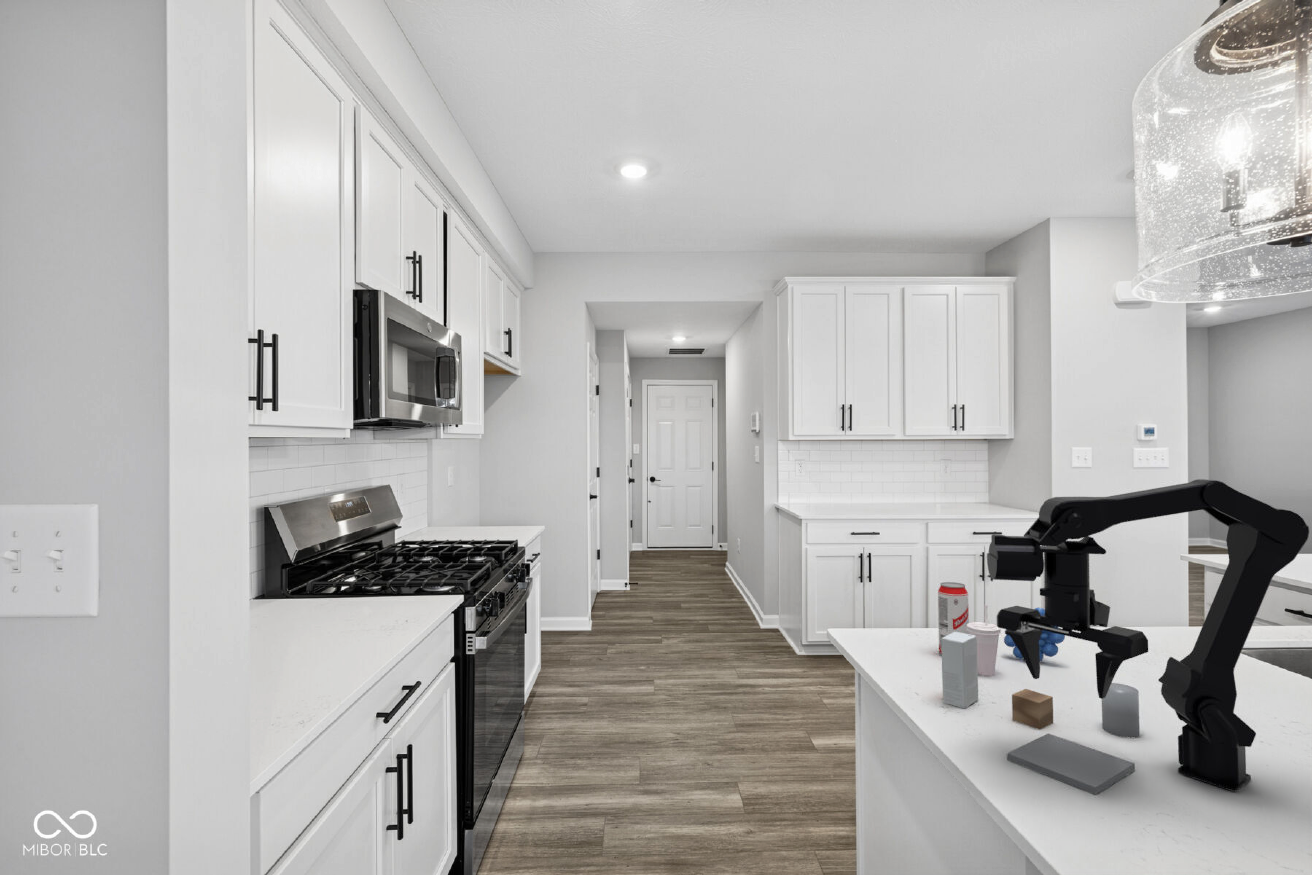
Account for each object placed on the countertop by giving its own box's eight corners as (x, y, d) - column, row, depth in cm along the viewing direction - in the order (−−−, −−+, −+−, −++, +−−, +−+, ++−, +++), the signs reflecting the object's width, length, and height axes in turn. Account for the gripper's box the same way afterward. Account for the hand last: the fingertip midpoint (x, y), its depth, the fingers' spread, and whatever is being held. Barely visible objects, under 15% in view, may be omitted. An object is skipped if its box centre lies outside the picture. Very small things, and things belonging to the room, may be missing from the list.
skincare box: (955, 693, 124) (954, 630, 124) (979, 700, 121) (977, 635, 121) (941, 702, 120) (940, 637, 120) (965, 709, 117) (964, 642, 117)
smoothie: (1006, 679, 131) (1004, 609, 132) (971, 677, 133) (970, 608, 133) (996, 668, 138) (994, 602, 138) (963, 666, 139) (962, 601, 139)
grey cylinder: (1145, 732, 107) (1144, 689, 107) (1131, 740, 104) (1130, 696, 104) (1110, 722, 111) (1109, 680, 111) (1096, 729, 108) (1095, 686, 108)
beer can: (932, 653, 148) (931, 583, 148) (952, 650, 151) (951, 580, 151) (955, 662, 142) (954, 588, 142) (975, 657, 145) (974, 585, 145)
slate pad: (1134, 769, 94) (1134, 762, 94) (1095, 794, 88) (1095, 787, 88) (1048, 739, 105) (1048, 733, 105) (1007, 759, 98) (1007, 752, 98)
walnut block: (1053, 723, 111) (1052, 696, 111) (1039, 729, 108) (1039, 702, 108) (1026, 714, 115) (1025, 688, 115) (1012, 720, 112) (1011, 694, 112)
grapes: (1068, 662, 141) (1067, 606, 141) (1064, 670, 136) (1062, 612, 136) (1008, 652, 149) (1007, 599, 149) (1001, 659, 143) (1000, 605, 143)
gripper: (1164, 587, 93) (1166, 696, 93) (1032, 567, 109) (1033, 660, 109) (1128, 597, 88) (1130, 714, 87) (994, 574, 103) (995, 673, 103)
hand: (1067, 687), depth 97 cm, fingers open, 9 cm apart
